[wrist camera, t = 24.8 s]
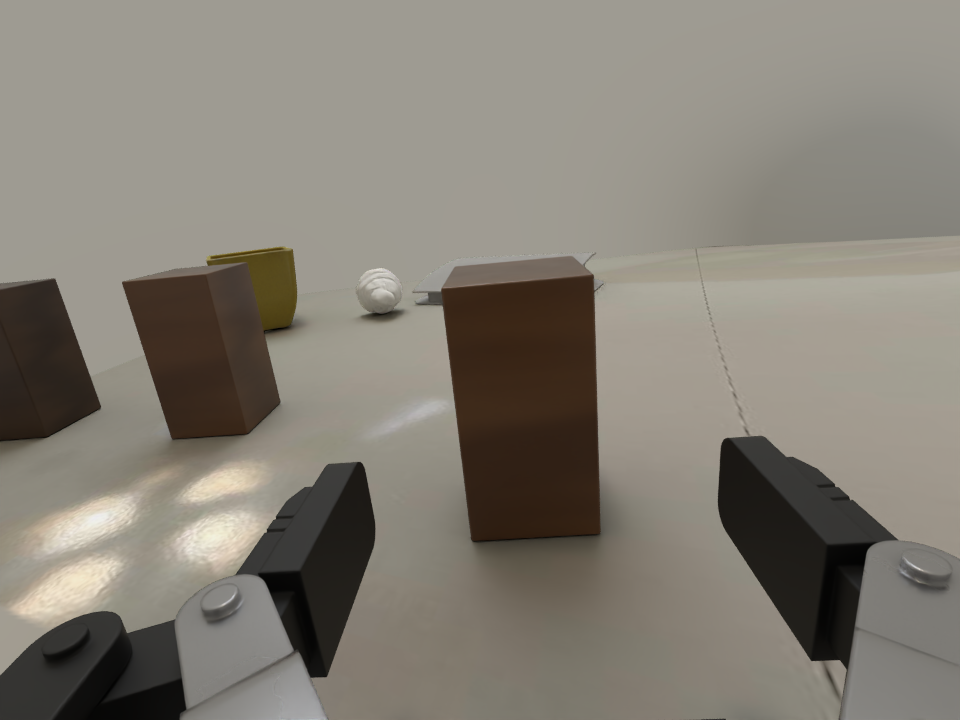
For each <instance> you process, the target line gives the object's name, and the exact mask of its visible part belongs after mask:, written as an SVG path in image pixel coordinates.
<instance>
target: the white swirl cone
mask: <svg viewBox="0 0 960 720" xmlns="http://www.w3.org/2000/svg"><path fill="white" fill-rule="evenodd" d="M356 294H357V296H358V299H359V301H360V304H361V305H362V307H363V308H364V309H366V310H367V311H369V312H377V313H379V314H384V313H387V312H389V311H391V310H393V309H394V307H395V306H396V305H397V304H398V303H399V302H400V301H401V298H402V286H401V284H400V281H399V279H398V278H397V277H396V276H395V275H394V274H393V273H392V272H390V271H388V270H386V269H382V268H378V269H373V270H369V271H367V272H366V273H364V274H363V276H362V277H361V278H360V279H359V282H358V285H357V289H356Z"/></svg>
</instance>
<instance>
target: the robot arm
mask: <svg viewBox="0 0 960 720" xmlns="http://www.w3.org/2000/svg"><path fill="white" fill-rule="evenodd" d="M718 509H719V514H720V518H721V522H722V524H723V527H724V529H725V530H726V532H727V534H728V535H729V537H730V538H731V540H732V541H733V543H734V544H735V546H736V547H737V549H738V550H739V552H740V553H741V555H742V556H743V558H744V559H745V561H746V562H747V564H748V566H749V567H750V569H751V570H752V572H753V573H754V575H755V576H756V578H757V579H758V581H759V582H760V584H761V585H762V587H763V588H764V590H765V591H766V593H767V594H768V596H769V597H770V599H771V600H772V602H773V603H774V605H775V606H776V608H777V610H778V611H779V613H780V614H781V616H782V617H783V619H784V620H785V622H786V623H787V625H788V626H789V628H790V629H791V631H792V632H793V634H794V635H795V637H796V638H797V640H798V641H799V643H800V644H801V646H802V647H803V649H804V650H805V652H806V654H807V655H808V657H809V658H810V660H811V661H825V660H840V661H841V662H842V663H843V665H844V666H845V668H846V669H847V672H846V678H845V684H844V690H843V696H842V703H841V709H840V715H839V720H960V559H958V558H957V557H955V556H953V555H951V554H949V553H946V552H944V551H942V550H939V549H936V548H933V547H930V546H927V545H923V544H919V543H915V542H908V541H899V540H898V539H897V538H895V537H894V536H893V535H892V534H891V533H890V532H889V531H887V530H886V529H885V528H884V527H883V526H882V525H881V524H880V523H878V522H877V521H876V520H875V519H874V518H873V517H872V516H870V515H869V514H868V513H867V512H866V511H865V510H864V509H862V508H861V507H860V506H859V505H858V504H857V503H856V502H855V501H853V500H850V499H849V496H848V495H847V494H845V493H844V492H843V491H842V490H841V489H840V488H839V487H835V484H834V483H833V482H832V481H831V480H830V479H828V478H827V477H826V476H825V475H824V474H823V473H822V472H820V471H819V470H818V469H817V468H814V467H812V466H810V465H808V464H806V463H804V462H802V461H800V460H798V459H796V458H794V457H786V456H785V455H783V454H782V453H781V452H780V451H779V450H778V449H777V448H776V447H775V446H774V445H773V444H772V443H771V442H770V441H768V440H767V439H766V438H765V437H763V436H751V437H736V438H726V439H724V440H723V442H722V445H721V454H720V471H719V489H718ZM374 542H375V519H374V514H373V508H372V503H371V498H370V493H369V487H368V482H367V477H366V472H365V468H364V466H363V464H362V463H361V462H352V463H337V464H328V465H327V466H326V467H325V468H324V470H323V471H322V473H321V475H320V476H319V478H318V479H317V481H316V482H315V484H314V485H313V487H304V488H303V489H302V490H301V491H299V492H298V493H297V494H295V495H294V496H293V497H291V498H290V499H289V500H287V501H286V503H285V504H284V506H283V507H282V509H281V510H280V511H279V513H278V514H277V516H276V520H273V522H272V523H271V524H270V526H269V527H268V529H267V533H264V535H263V536H262V537H261V539H260V540H259V542H258V543H257V545H256V546H255V547H254V549H253V550H252V552H251V553H250V555H249V556H248V558H247V559H246V560H245V562H244V563H243V565H242V566H241V568H240V569H239V571H238V572H237V573H236V575H234V576H230V577H226V578H223V579H220V580H218V581H215V582H213V583H211V584H209V585H208V586H206V587H204V588H203V589H201V590H200V591H198V592H197V593H195V594H194V595H193V596H192V597H191V598H189V599H188V600H187V602H186V603H185V604H184V605H183V606H182V607H181V609H180V610H179V612H178V614H177V616H176V619H175V620H172V621H169V622H165V623H162V624H158V625H155V626H151V627H148V628H144V629H141V630H137V631H134V632H130V633H127V632H126V630H125V627H124V625H123V622H122V620H121V618H120V616H119V615H117V614H116V613H113V612H108V611H101V612H94V613H89V614H85V615H82V616H79V617H76V618H74V619H72V620H69V621H67V622H65V623H63V624H61V625H59V626H57V627H55V628H54V629H52V630H50V631H49V632H47V633H46V634H44V635H43V636H42V637H40V638H39V639H38V640H36V641H35V642H34V643H33V644H31V645H30V646H29V647H28V648H27V649H26V650H25V651H24V652H23V653H22V654H21V655H20V656H19V657H18V658H17V659H16V660H15V661H14V662H13V663H12V664H11V665H10V666H9V667H8V668H7V669H6V670H5V671H4V672H3V673H2V674H1V675H0V720H328V717H327V715H326V713H325V711H324V708H323V706H322V704H321V701H320V699H319V697H318V694H317V692H316V690H315V687H314V685H313V683H312V680H311V678H313V677H327V675H328V672H329V670H330V667H331V664H332V661H333V659H334V656H335V653H336V650H337V647H338V645H339V642H340V639H341V636H342V634H343V631H344V628H345V625H346V622H347V620H348V617H349V614H350V611H351V609H352V606H353V603H354V600H355V597H356V595H357V592H358V589H359V586H360V584H361V581H362V578H363V575H364V572H365V570H366V567H367V564H368V561H369V559H370V556H371V553H372V550H373V547H374ZM703 720H726V719H703Z"/></svg>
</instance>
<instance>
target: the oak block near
mask: <svg viewBox="0 0 960 720" xmlns="http://www.w3.org/2000/svg"><path fill="white" fill-rule="evenodd" d="M99 408H101V405H100V402H99V400H98V397H97V394H96V391H95V388H94V386H93V383H92V380H91V377H90V374H89V372H88V369H87V366H86V363H85V361H84V358H83V355H82V352H81V349H80V347H79V344H78V341H77V339H76V336H75V333H74V330H73V327H72V325H71V321H70V319H69V316H68V313H67V310H66V308H65V305H64V302H63V299H62V296H61V294H60V291H59V288H58V285H57V282H56V280H55V279H43V280H33V281H23V282H12V283H1V284H0V440H11V439H24V438H38V437H47V436H49V435H51V434H53V433H55V432H57V431H58V430H60V429H62V428H64V427H66V426H68V425H70V424H71V423H73V422H75V421H77V420H79V419H81V418H82V417H84V416H86V415H88V414H90V413H92V412H94V411H95V410H97V409H99Z"/></svg>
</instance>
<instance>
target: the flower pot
mask: <svg viewBox="0 0 960 720" xmlns="http://www.w3.org/2000/svg"><path fill="white" fill-rule="evenodd" d="M206 261H207V264H208V266H212V265H223V264H233V263H244V262H247V263H248V268H249V272H250V276H251V280H252V284H253V289H254V293H255V297H256V301H257V305H258V310H259V314H260V318H261V322H262V326H263V331H264V330H269V329H275V328H280V327H281V328H284V327H287V326H289V325H291V322H292V319H293V317H294V313H295V309H296V303H297V284H296V274H295V266H294V257H293V249H291V248H286V247H275V248H268V249H259V250H252V251H244V252H236V253H228V254H221V255H213V256H208V257H207V259H206Z"/></svg>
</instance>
